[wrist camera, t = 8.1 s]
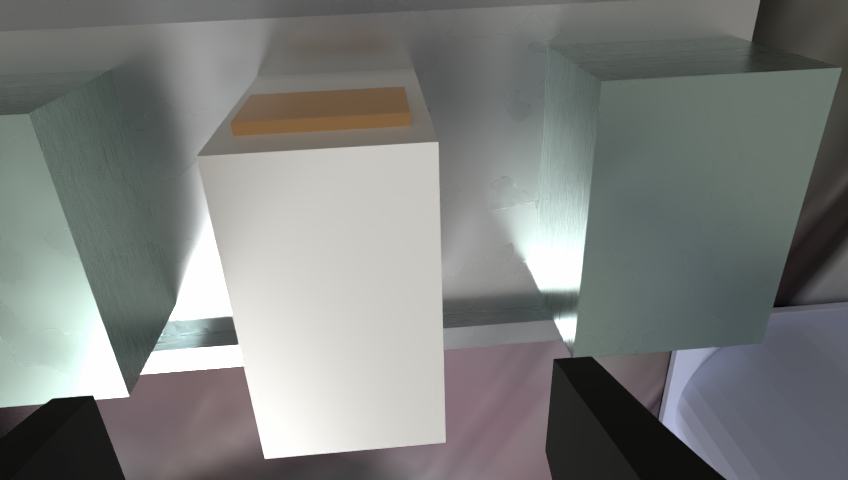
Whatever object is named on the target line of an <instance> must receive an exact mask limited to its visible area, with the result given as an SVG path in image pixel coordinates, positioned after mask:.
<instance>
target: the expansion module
mask: <svg viewBox="0 0 848 480" xmlns="http://www.w3.org/2000/svg"><path fill="white" fill-rule="evenodd" d="M196 157H197V162H198V166H199V170H200V175H201V179H202V184H203V188H204V193H205V197H206V201H207V206H208V210H209V215H210V219H211V223H212V228H213V232H214V237H215V241H216V246H217V250H218V254H219V259H220V263H221V268H222V272H223V276H224V281H225V285H226V290H227V294H228V299H229V303H230V307H231V312H232V316H233V321H234V325H235V329H236V334H237V338H238V343H239V347H240V352H241V356H242V360H243V365H244V369H245V374H246V378H247V383H248V387H249V391H250V396H251V400H252V405H253V409H254V413H255V418H256V422H257V427H258V431H259V436H260V440H261V444H262V449H263V453H264V458H265V459H268V458H279V457H290V456H302V455H313V454H324V453H335V452H346V451H357V450H368V449H379V448H390V447H401V446H413V445H424V444H435V443H446V437H445V395H444V353H443V311H442V269H441V228H440V186H439V144H438V139H437V136H436V133H435V130H434V127H433V124H432V121H431V118H430V115H429V112H428V109H427V106H426V103H425V100H424V97H423V94H422V91H421V88H420V85H419V82H418V79H417V76H416V73H415V70H414V68H406V69H387V70H368V71H349V72H330V73H311V74H293V75H274V76H257V77H256V78H255V80H254V81H253V82H252V84H251V85H250V86H249V88H248V89H247V90H246V91H245V93H244V94H243V95H242V97H241V98H240V99H239V101H238V102H237V103H236V105H235V106H234V107H233V109H232V110H231V111H230V113H229V114H228V115H227V117H226V118H225V119H224V121H223V122H222V123H221V124H220V126H219V127H218V128H217V130H216V131H215V132H214V134H213V135H212V136H211V138H210V139H209V140H208V142H207V143H206V144H205V146H204V147H203V148H202V150H201V151H200V152H199V153H198V155H197V156H196Z"/></svg>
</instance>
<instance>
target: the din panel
mask: <svg viewBox="0 0 848 480" xmlns="http://www.w3.org/2000/svg"><path fill="white" fill-rule="evenodd" d="M759 4H760V0H0V407H11V406H23V405H35V404H46V403H47V402H48V401H50V400H51V399H52V398H64V397H77V396H90V395H93V396H94V399H106V398H118V397H129V396H130V394H131V392H132V390H133V388H134V386H135V384H136V382H137V380H138V378H139V376H140V374H150V373H162V372H174V371H186V370H198V369H211V368H223V367H235V366H244V365H243V360H242V356H241V352H240V347H239V343H238V338H237V334H236V329H235V325H234V321H233V316H232V312H231V307H230V303H229V299H228V294H227V290H226V285H225V281H224V276H223V272H222V268H221V263H220V259H219V254H218V250H217V246H216V241H215V237H214V232H213V228H212V223H211V219H210V215H209V210H208V206H207V201H206V197H205V193H204V188H203V184H202V179H201V175H200V170H199V166H198V162H197V157H196V156H197V155H198V153H199V152H200V151H201V150H202V148H203V147H204V146H205V144H206V143H207V142H208V140H209V139H210V138H211V136H212V135H213V134H214V132H215V131H216V130H217V128H218V127H219V126H220V124H221V123H222V122H223V121H224V119H225V118H226V117H227V115H228V114H229V113H230V111H231V110H232V109H233V107H234V106H235V105H236V103H237V102H238V101H239V99H240V98H241V97H242V95H243V94H244V93H245V91H246V90H247V89H248V88H249V86H250V85H251V84H252V82H253V81H254V80H255V78H256V77H257V76H274V75H293V74H311V73H330V72H349V71H368V70H387V69H406V68H414V70H415V73H416V76H417V79H418V82H419V85H420V88H421V91H422V94H423V97H424V100H425V103H426V106H427V109H428V112H429V115H430V118H431V121H432V124H433V127H434V130H435V133H436V136H437V139H438V144H439V186H440V228H441V269H442V311H443V349H454V348H466V347H479V346H491V345H503V344H515V343H527V342H539V341H552V340H564V342H565V344H566V346H567V348H568V350H569V353H570V355H571V357H572V358H574V357H586V356H591V357H592V358H594V357H606V356H617V355H629V354H641V353H653V352H665V351H677V350H689V349H701V348H712V347H724V346H736V345H748V344H760V343H762V342H763V339H764V335H765V332H766V329H767V325H768V322H769V318H770V315H771V311H772V308H773V304H774V301H775V297H776V294H777V291H778V287H779V284H780V280H781V277H782V273H783V270H784V266H785V263H786V259H787V256H788V253H789V249H790V246H791V242H792V239H793V235H794V232H795V228H796V225H797V222H798V218H799V215H800V211H801V208H802V204H803V201H804V197H805V194H806V190H807V187H808V184H809V180H810V177H811V173H812V170H813V166H814V163H815V159H816V156H817V152H818V149H819V146H820V142H821V139H822V135H823V132H824V128H825V125H826V121H827V118H828V115H829V111H830V108H831V104H832V101H833V97H834V94H835V90H836V87H837V83H838V80H839V77H840V73H841V70H842V67H838V66H835V65H831V64H828V63H824V62H821V61H818V60H814V59H811V58H807V57H804V56H800V55H797V54H793V53H790V52H787V51H783V50H780V49H776V48H773V47H769V46H766V45H763V44H759V43H756V42H752V36H753V31H754V27H755V22H756V18H757V13H758V8H759Z"/></svg>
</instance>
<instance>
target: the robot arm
mask: <svg viewBox="0 0 848 480" xmlns="http://www.w3.org/2000/svg"><path fill="white" fill-rule="evenodd" d="M545 451H546V455H547V459H548V463H549V468H550V472H551V476H552V480H848V302H841V303H828V304H816V305H804V306H791V307H779V308H772V311H771V315H770V318H769V322H768V325H767V329H766V332H765V335H764V339H763V342H762V343H760V344H748V345H736V346H724V347H712V348H701V349H689V350H677V351H672V355H671V360H670V365H669V370H668V375H667V380H666V384H665V389H664V394H663V399H662V404H661V409H660V414H659V419H657V418H656V417H655V416H654V415H653V414H652V413H651V412H650V411H648V410H647V409H646V408H645V407H644V406H643V405H642V404H641V403H640V402H639V401H638V400H637V399H636V398H635V397H634V396H633V395H632V394H630V393H629V392H628V391H627V390H626V389H625V388H624V387H623V386H622V385H621V384H620V383H619V382H618V381H617V380H616V379H615V378H614V377H613V376H612V375H611V374H610V373H608V372H607V371H606V370H605V369H604V368H603V367H602V366H601V365H600V364H599V363H598V362H597V361H596V360H595V359H594V358H592V357H591V356H586V357H574V358H561V359H554V362H553V373H552V384H551V395H550V406H549V417H548V428H547V439H546V450H545ZM0 480H125V477H124V474H123V472H122V469H121V467H120V464H119V461H118V459H117V456H116V454H115V451H114V448H113V446H112V443H111V441H110V438H109V435H108V433H107V430H106V428H105V425H104V422H103V420H102V417H101V415H100V412H99V409H98V407H97V404H96V401H95V399H94V396H93V395H90V396H77V397H64V398H52V399H51V400H50V401H48V402H47V403H46V404H44V405H43V406H42V407H40V408H39V409H37V410H36V411H35V412H34V413H32V414H31V415H30V416H29V417H27V418H26V419H25V420H24V421H22V422H21V423H20V424H19V425H17V426H16V427H15V428H14V429H12V430H11V431H10V432H9V433H7V434H6V435H5V436H4V437H3V438H1V439H0Z"/></svg>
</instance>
